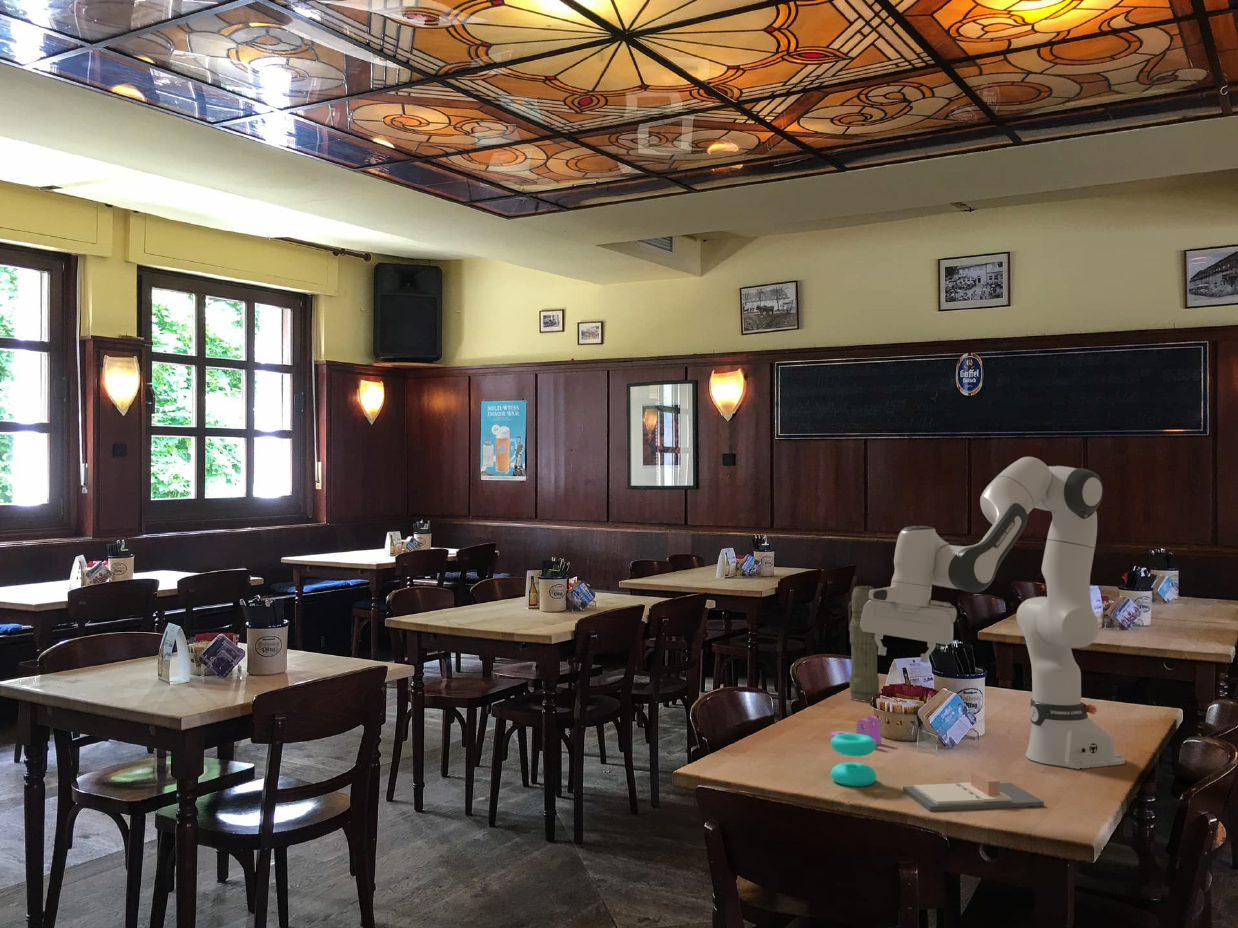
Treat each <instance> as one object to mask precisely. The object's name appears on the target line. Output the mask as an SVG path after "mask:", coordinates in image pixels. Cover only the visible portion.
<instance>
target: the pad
mask: <svg viewBox="0 0 1238 928" xmlns="http://www.w3.org/2000/svg"><path fill="white" fill-rule="evenodd" d="M902 792H903V793H905V794H906V795H907V796H908V797H910V798H911V799H912V800H914V801H915V802H917V803H918V804H919V805H921V806H922V807H924V808H925V809H926V810H928V811H929V812H940V811H941V812H944V811H967V810H988V809H987V808H995V809H1012V807H1018V808H1028V807H1027V806H1042V807H1045V801H1044V800H1042V799H1040V798H1038V797H1037V796H1035V795H1034V794H1031V793H1030V792H1028V791H1026V790H1024V789H1023V788H1021V787H1019V786H1018V785H1016V784H1014V783H1012V782H1000V792H1002V793H1004V794H1005V795H1007V796H1009V797H1010V798H1011V801H998V802H983V800H982V799H981V798H979V797H978V796H976V795H975V794H973V793H971V792H970V791H968V790H967V789H965V788H963V787H962V786H960V785H959V784H958V783H936V784H931V783H930V784H913V786H903V787H902Z"/></svg>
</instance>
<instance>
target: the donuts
mask: <svg viewBox="0 0 1238 928" xmlns="http://www.w3.org/2000/svg"><path fill="white" fill-rule="evenodd" d="M830 746H831V747H832V749H833V750H834V751H835V752H836V753H839V754H841V755H845V756H848V757H862V756H867V755H870V754H872V753H874V751H876V748H877V745H876V742H875V740H874V739H873V738H871V737H869V736H867V735H862V734H857V733H854V732H850V733H845V734H839V735H836V736H834V737H833V738H832V739H831V740H830ZM830 777H831V778H832V781H834V782H836V783H838V784H839V785H844V786H849V787H867V786H870V785H872V784H874V782H875V781H876V779H877V773H876V772H875V770H874V769H873V768H872V767H871V766H869V765H868V764H865V763H860V762H843V763H838V764H837V765H835V766H834V767H833V768H832V769H831V771H830Z"/></svg>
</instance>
